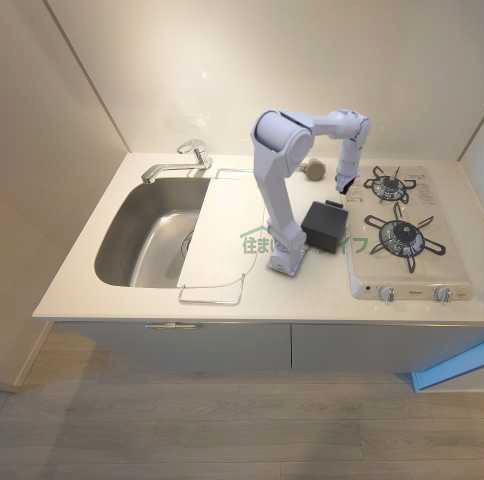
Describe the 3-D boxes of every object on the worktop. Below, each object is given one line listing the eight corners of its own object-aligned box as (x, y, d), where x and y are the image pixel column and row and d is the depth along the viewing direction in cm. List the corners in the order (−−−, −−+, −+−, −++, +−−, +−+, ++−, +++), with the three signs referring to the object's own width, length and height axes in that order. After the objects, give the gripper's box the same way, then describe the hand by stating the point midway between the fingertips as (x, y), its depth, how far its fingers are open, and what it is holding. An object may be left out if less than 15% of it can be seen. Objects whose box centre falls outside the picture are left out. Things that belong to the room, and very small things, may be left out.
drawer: (319, 206, 92) (320, 192, 86) (348, 215, 89) (351, 201, 84) (305, 235, 85) (305, 222, 79) (335, 246, 82) (338, 233, 77)
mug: (320, 163, 107) (328, 151, 97) (318, 185, 105) (326, 176, 96) (302, 159, 105) (309, 147, 96) (300, 182, 104) (306, 173, 94)
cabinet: (312, 218, 90) (313, 201, 83) (345, 228, 87) (348, 211, 80) (300, 242, 84) (300, 225, 77) (335, 253, 82) (338, 237, 75)
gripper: (356, 177, 67) (348, 212, 78) (370, 145, 75) (361, 181, 86) (330, 170, 69) (326, 205, 80) (346, 139, 76) (341, 175, 88)
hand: (343, 192), depth 83 cm, fingers closed
